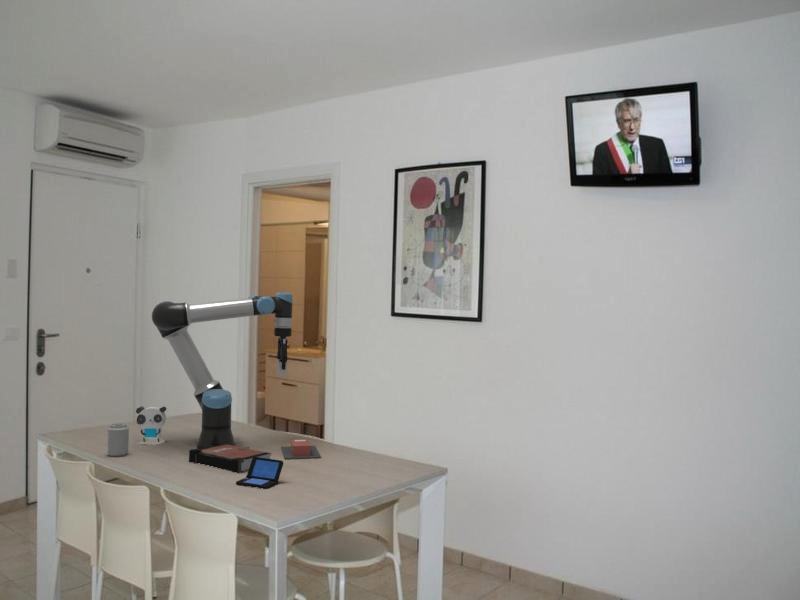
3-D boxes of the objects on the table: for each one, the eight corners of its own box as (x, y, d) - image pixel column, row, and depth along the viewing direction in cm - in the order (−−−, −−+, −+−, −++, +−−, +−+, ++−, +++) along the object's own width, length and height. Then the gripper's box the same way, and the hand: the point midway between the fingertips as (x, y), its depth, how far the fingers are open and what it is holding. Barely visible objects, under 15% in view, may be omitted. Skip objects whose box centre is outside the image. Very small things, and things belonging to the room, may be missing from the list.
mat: (320, 458, 264) (321, 456, 264) (284, 459, 261) (284, 457, 261) (315, 446, 283) (315, 445, 283) (281, 448, 280) (281, 446, 280)
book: (272, 464, 254) (273, 451, 254) (238, 474, 240) (238, 460, 240) (224, 454, 269) (224, 442, 269) (188, 463, 254) (189, 449, 254)
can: (128, 452, 268) (129, 421, 268) (127, 456, 261) (128, 425, 260) (108, 453, 265) (108, 422, 265) (106, 457, 258) (107, 426, 258)
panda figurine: (132, 445, 280) (132, 409, 280) (141, 439, 291) (142, 404, 291) (161, 445, 280) (161, 409, 280) (169, 439, 292) (170, 405, 292)
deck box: (292, 456, 264) (290, 449, 275) (310, 455, 265) (308, 448, 277) (292, 446, 264) (291, 439, 275) (310, 445, 265) (308, 439, 277)
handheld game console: (234, 485, 225) (234, 463, 225) (252, 477, 235) (253, 456, 235) (266, 490, 220) (266, 467, 220) (283, 482, 230) (284, 460, 230)
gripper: (272, 326, 310) (270, 372, 309) (277, 328, 286) (275, 378, 285) (288, 326, 312) (286, 372, 311) (294, 328, 288) (293, 378, 287)
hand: (281, 375), depth 298 cm, fingers open, 13 cm apart
